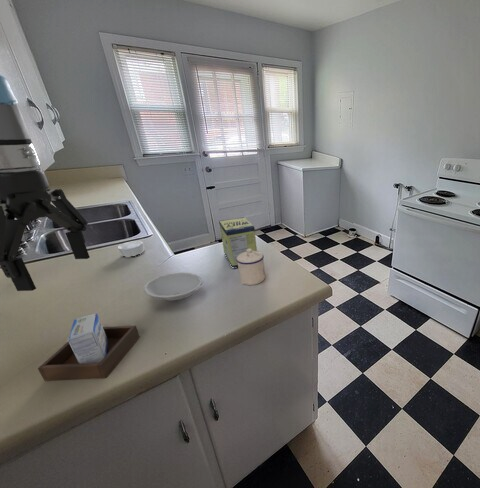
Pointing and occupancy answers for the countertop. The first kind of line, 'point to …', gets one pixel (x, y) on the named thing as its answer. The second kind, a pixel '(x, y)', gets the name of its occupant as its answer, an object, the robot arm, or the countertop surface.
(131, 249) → the ramekin
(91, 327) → the medicine box
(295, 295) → the countertop surface
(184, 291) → the dish
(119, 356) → the holder
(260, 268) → the teacup with lid
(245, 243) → the protein box
